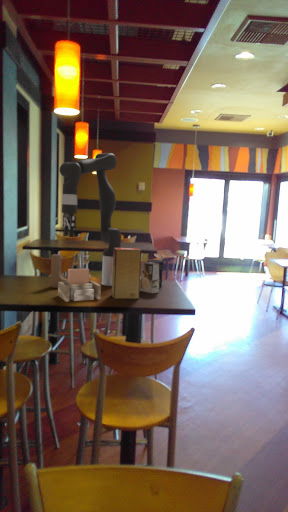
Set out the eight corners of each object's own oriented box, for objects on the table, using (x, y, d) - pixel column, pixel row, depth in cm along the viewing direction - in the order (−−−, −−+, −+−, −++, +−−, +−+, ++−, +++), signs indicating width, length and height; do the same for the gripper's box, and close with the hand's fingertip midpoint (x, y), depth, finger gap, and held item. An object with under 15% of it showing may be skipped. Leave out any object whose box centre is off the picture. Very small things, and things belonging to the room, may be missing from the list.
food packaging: (135, 294, 209) (138, 248, 206) (139, 299, 200) (142, 250, 197) (110, 294, 206) (113, 247, 203) (113, 299, 197) (115, 249, 194)
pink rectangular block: (86, 295, 201) (87, 268, 200) (88, 296, 199) (89, 269, 197) (67, 296, 197) (67, 268, 195) (69, 298, 194) (69, 269, 192)
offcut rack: (90, 293, 206) (91, 280, 205) (100, 299, 194) (101, 285, 194) (57, 295, 197) (58, 281, 197) (66, 301, 186) (66, 287, 185)
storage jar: (162, 287, 231) (163, 262, 230) (145, 286, 231) (146, 261, 230) (161, 284, 241) (163, 260, 239) (145, 283, 241) (147, 259, 240)
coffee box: (159, 292, 218) (161, 263, 216) (151, 293, 213) (153, 264, 212) (147, 289, 224) (148, 261, 222) (139, 290, 220) (140, 262, 218)
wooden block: (68, 287, 219) (69, 255, 217) (66, 288, 215) (67, 256, 212) (53, 285, 220) (54, 254, 218) (50, 287, 216) (51, 254, 214)
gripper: (81, 204, 190) (80, 237, 192) (72, 203, 203) (71, 235, 205) (66, 203, 187) (65, 237, 189) (58, 203, 199) (57, 235, 201)
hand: (68, 236), depth 197 cm, fingers open, 8 cm apart
